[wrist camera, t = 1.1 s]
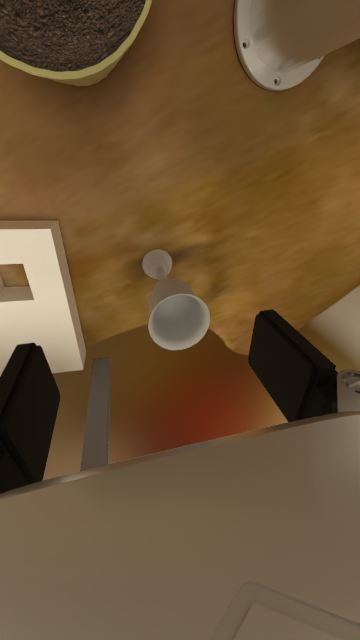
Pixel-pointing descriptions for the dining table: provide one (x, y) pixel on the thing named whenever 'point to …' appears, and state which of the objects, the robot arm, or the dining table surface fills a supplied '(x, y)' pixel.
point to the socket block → (39, 296)
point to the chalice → (173, 306)
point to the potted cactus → (69, 36)
